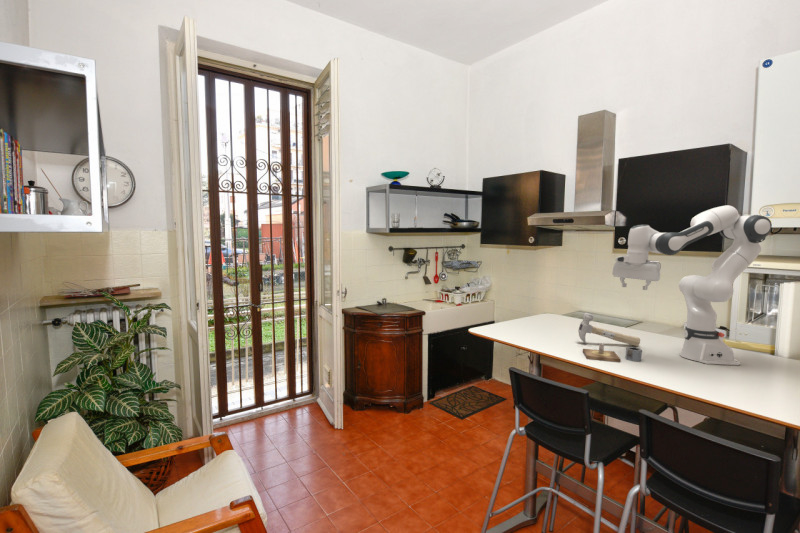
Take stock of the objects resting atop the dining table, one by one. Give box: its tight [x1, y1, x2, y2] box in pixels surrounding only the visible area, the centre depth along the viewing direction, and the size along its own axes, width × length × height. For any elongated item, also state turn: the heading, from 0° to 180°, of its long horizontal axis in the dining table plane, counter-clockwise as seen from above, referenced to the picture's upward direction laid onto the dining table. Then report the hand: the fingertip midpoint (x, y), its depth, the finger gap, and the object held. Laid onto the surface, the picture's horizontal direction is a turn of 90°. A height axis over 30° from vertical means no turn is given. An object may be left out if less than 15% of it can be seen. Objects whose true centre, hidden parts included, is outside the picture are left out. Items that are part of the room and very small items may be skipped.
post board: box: [582, 342, 622, 363], centre depth 191 cm, size 14×12×6 cm
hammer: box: [577, 312, 641, 347], centre depth 212 cm, size 16×5×30 cm
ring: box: [624, 346, 643, 362], centre depth 189 cm, size 6×6×5 cm
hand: (634, 288), depth 192 cm, fingers open, 8 cm apart
